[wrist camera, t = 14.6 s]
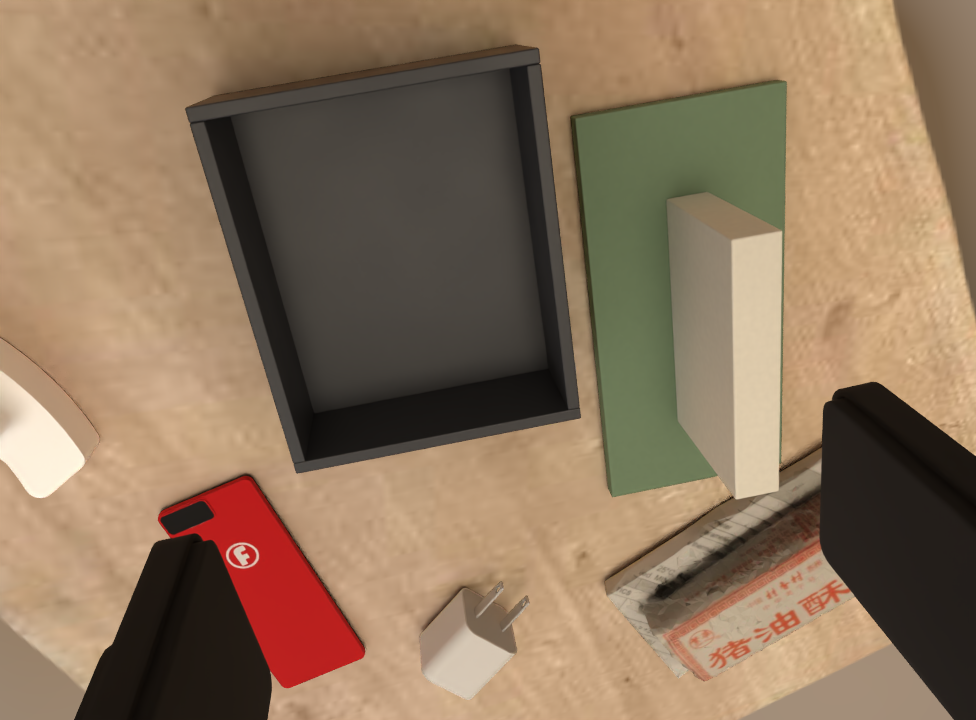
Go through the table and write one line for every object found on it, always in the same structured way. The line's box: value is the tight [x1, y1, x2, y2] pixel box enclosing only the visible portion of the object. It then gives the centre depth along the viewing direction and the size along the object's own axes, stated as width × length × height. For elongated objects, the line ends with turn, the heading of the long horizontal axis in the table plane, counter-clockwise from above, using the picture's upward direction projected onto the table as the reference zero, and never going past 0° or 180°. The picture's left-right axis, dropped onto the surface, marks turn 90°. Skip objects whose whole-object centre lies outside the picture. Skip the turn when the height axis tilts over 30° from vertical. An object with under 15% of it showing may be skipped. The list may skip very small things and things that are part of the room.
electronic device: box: [158, 476, 365, 688], centre depth 46 cm, size 6×1×15 cm
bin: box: [185, 45, 581, 474], centre depth 36 cm, size 17×14×6 cm
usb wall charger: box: [420, 581, 529, 700], centre depth 47 cm, size 4×7×4 cm, turn 141°
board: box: [666, 192, 782, 499], centre depth 37 cm, size 13×2×8 cm, turn 9°
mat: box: [571, 80, 787, 497], centre depth 41 cm, size 22×10×1 cm, turn 9°
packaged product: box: [605, 447, 855, 681], centre depth 47 cm, size 18×5×10 cm
